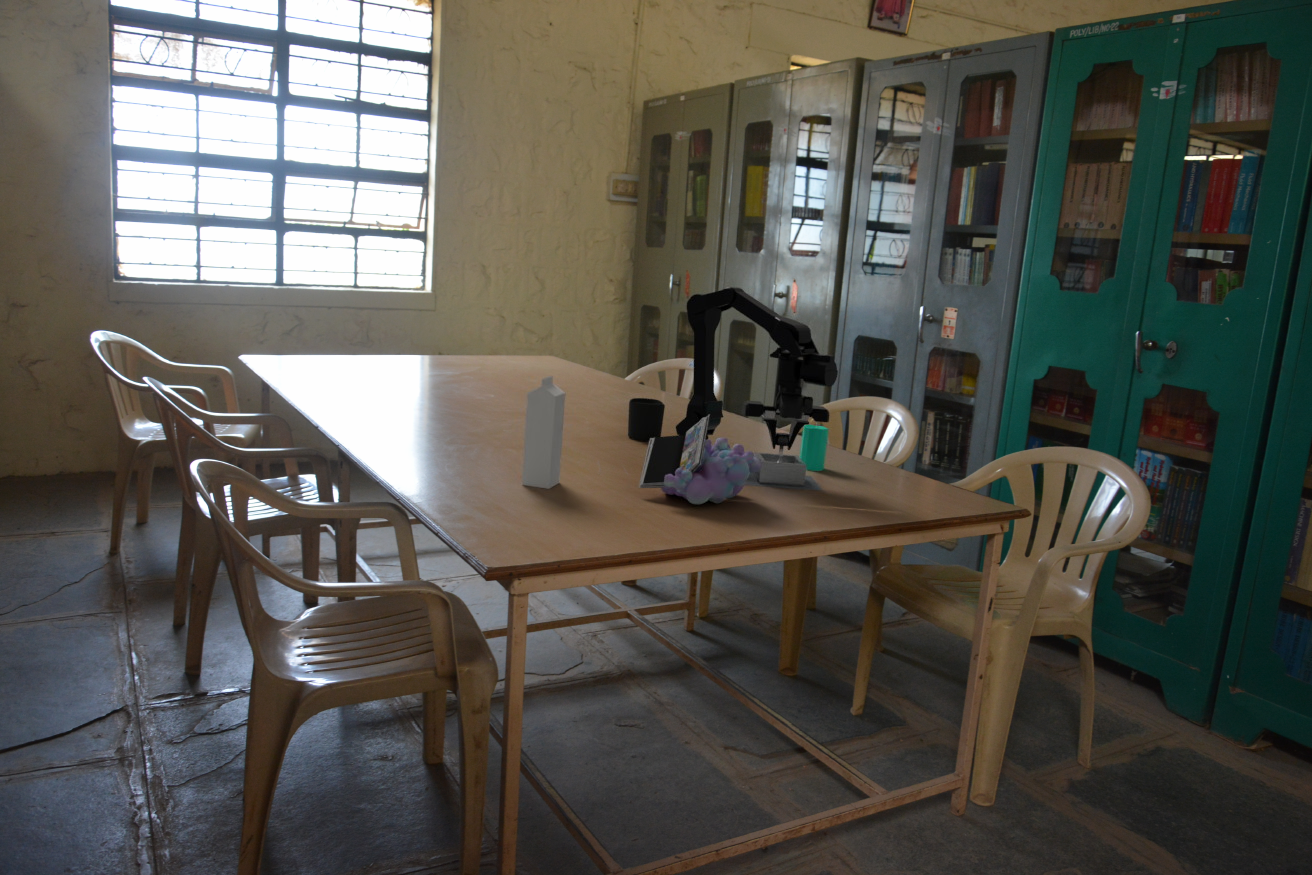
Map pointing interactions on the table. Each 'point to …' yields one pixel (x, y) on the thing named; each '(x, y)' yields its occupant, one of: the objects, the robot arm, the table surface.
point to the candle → (814, 447)
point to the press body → (780, 470)
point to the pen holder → (645, 418)
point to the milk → (543, 435)
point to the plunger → (782, 443)
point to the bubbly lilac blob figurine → (697, 466)
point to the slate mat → (808, 485)
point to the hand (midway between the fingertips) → (781, 449)
